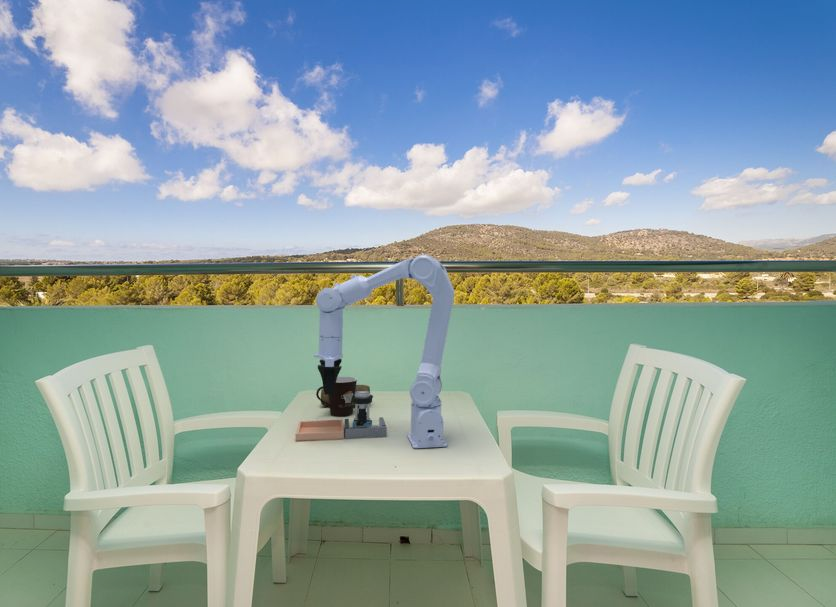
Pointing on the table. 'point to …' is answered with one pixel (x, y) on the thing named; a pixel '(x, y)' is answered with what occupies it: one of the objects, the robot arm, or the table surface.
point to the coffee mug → (341, 397)
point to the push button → (362, 409)
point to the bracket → (366, 430)
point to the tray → (320, 430)
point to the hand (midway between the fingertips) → (329, 390)
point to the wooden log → (358, 388)
